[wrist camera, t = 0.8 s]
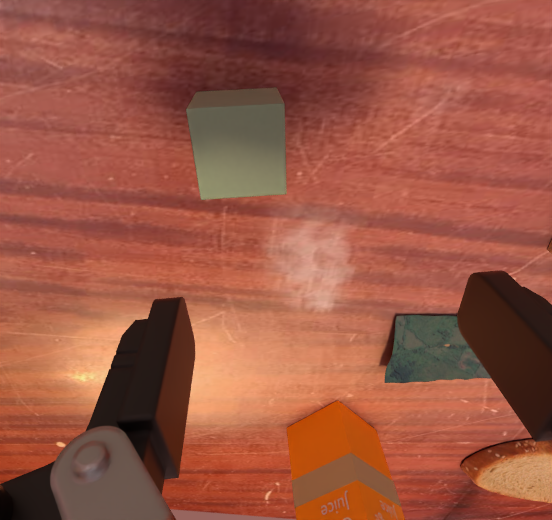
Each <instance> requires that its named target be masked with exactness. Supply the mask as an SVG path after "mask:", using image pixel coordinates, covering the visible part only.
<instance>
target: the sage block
mask: <svg viewBox="0 0 552 520" xmlns="http://www.w3.org/2000/svg"><path fill="white" fill-rule="evenodd" d="M186 112H187V118H188V124H189V131H190V137H191V143H192V149H193V155H194V161H195V167H196V173H197V179H198V185H199V191H200V197H201V200H206V199H221V198H236V197H251V196H266V195H282V194H286V146H285V104H284V102H283V100H282V98H281V96H280V93H279V91H278V89H277V88H276V87H275V88H256V89H237V90H218V91H199V92H196V93H195V95H194V97H193V98H192V100H191V102H190V103H189V105H188V107H187V108H186Z"/></svg>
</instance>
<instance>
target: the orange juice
mask: <svg viewBox="0 0 552 520" xmlns="http://www.w3.org/2000/svg"><path fill="white" fill-rule="evenodd" d="M287 436H288V445H289V454H290V464H291V473H292V487H293V497H294V506H295V510H296V520H405V518H404V515H403V512H402V509H401V504H400V501H399V498H398V495H397V492H396V488H395V485H394V482H393V481H392V478H391V474H390V471H389V468H388V465H387V462H386V459H385V456H384V453H383V450H382V447H381V443H380V440H379V437H378V434H377V431H376V430H375V429H374V428H373V427H372V426H370V425H369V424H368V423H366V422H365V421H364V420H363V419H361V418H360V417H359V416H357V415H356V414H355V413H353V412H352V411H351V410H350V409H348V408H347V407H346V406H344V405H343V404H342V403H341V402H339V401H336V402H334V403H332V404H330V405H328V406H326V407H325V408H323V409H321V410H319V411H317V412H315V413H313V414H311V415H310V416H308V417H306V418H304V419H302V420H300V421H298V422H297V423H295V424H293V425H291V426H289V427H287Z"/></svg>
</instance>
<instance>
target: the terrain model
mask: <svg viewBox="0 0 552 520" xmlns="http://www.w3.org/2000/svg"><path fill="white" fill-rule="evenodd" d="M472 378H491V377H490V375H489V374H488V372H487V371H486V370H485V368H484V367H483V365H482V364H481V362H480V361H479V359H478V358H477V357H476V355H475V354H474V352H473V351H472V349H471V348H470V346H469V345H468V343H467V342H466V341H465V339H464V338H463V336H462V335H461V333H460V330H459V327H458V322H457V316H448V315H444V316H422V315H404V316H397V317H396V322H395V337H394V347H393V353H392V356H391V359H390V361H389V363H388V365H387V368H386V373H385V383H407V382H429V381H435V380H454V379H464V380H467V379H472Z"/></svg>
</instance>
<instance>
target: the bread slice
mask: <svg viewBox="0 0 552 520" xmlns="http://www.w3.org/2000/svg"><path fill="white" fill-rule="evenodd" d="M461 469H462V470H463V471H464V472H465V473H466V474H467V475H468V477H469V478H470V479H471V480H472V481H473V482H474V483H475V484H476V485H477V486H479V487H482V488H484V489H487V490H488V491H491V492H497V493H498V494H501V495H506V496H509V497H510V496H511V497H514V498H519V499H521V498H523V499H525V500H526V499H528V500H533V501H543V502H546V503H552V440H548V441H539V442H535V440H534V439H528V440H522V441H514V442H508V443H504V444H500V445H497V446H493V447H490V448H487V449H485V450H482V451H480V452H478V453H475V454H473V455H472V456H470V457H469V458H467V459H465V460H464V462H463V463H462V465H461Z"/></svg>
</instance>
